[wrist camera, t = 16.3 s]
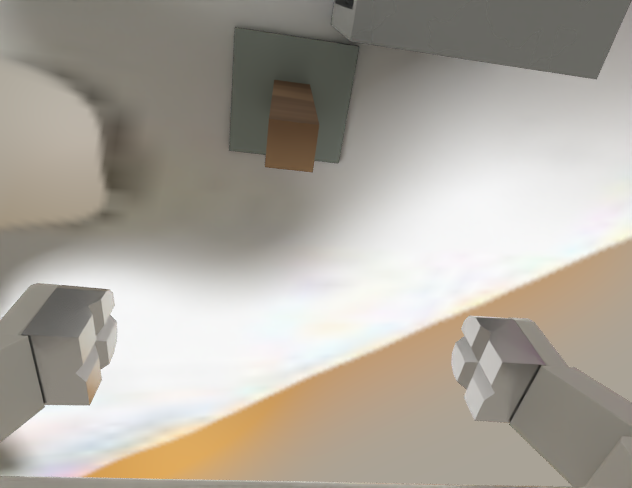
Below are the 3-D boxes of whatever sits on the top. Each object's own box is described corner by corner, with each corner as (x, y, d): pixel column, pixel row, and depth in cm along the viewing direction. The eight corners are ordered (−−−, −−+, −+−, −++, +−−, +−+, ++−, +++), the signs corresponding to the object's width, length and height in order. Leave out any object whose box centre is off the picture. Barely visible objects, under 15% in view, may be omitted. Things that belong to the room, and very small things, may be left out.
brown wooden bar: (305, 119, 31) (312, 172, 22) (271, 115, 30) (264, 167, 22) (309, 84, 29) (319, 125, 21) (274, 79, 29) (268, 118, 20)
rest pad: (337, 161, 33) (338, 163, 32) (229, 148, 32) (229, 150, 31) (358, 46, 29) (359, 46, 28) (235, 27, 28) (234, 27, 27)
